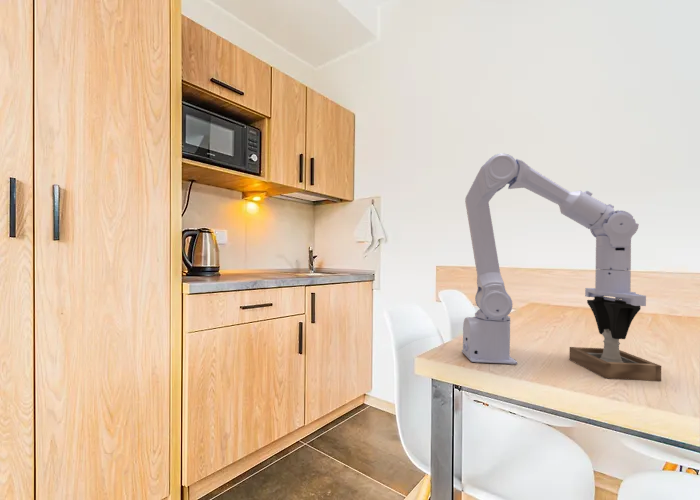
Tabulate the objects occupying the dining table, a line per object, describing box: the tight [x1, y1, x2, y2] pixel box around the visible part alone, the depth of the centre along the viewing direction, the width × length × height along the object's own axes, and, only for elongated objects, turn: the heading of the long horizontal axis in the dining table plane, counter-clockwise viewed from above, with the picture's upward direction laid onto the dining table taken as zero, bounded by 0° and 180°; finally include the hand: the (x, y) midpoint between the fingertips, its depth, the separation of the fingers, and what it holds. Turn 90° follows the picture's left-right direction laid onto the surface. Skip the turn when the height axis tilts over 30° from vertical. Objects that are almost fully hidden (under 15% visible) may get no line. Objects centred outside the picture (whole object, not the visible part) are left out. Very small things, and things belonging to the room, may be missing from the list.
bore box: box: [568, 346, 662, 382], centre depth 69 cm, size 10×12×3 cm
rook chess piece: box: [599, 329, 624, 363], centre depth 69 cm, size 4×4×8 cm
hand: (612, 336), depth 69 cm, fingers closed on rook chess piece, 3 cm apart
